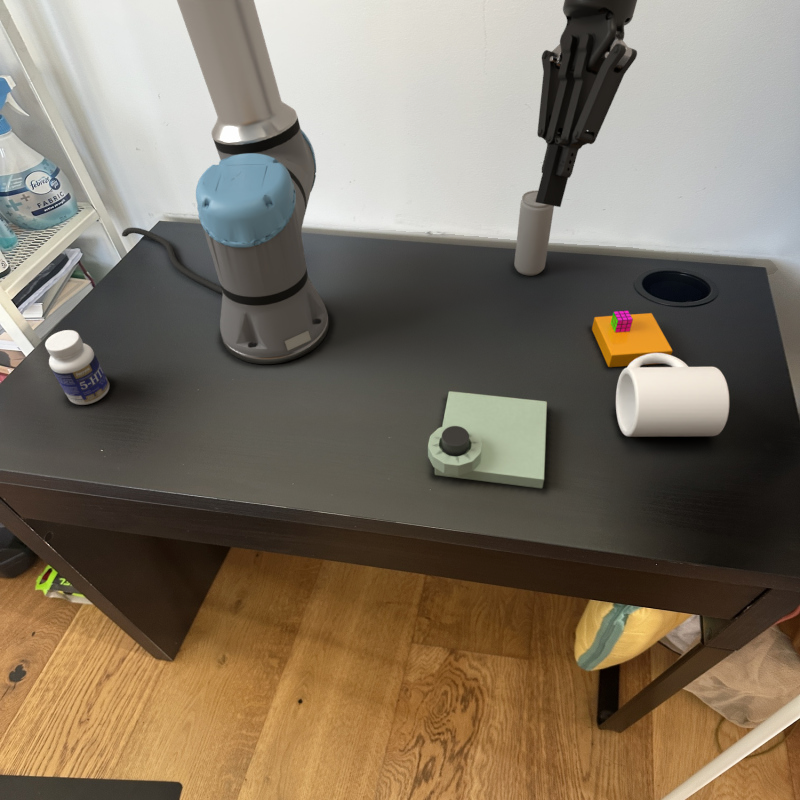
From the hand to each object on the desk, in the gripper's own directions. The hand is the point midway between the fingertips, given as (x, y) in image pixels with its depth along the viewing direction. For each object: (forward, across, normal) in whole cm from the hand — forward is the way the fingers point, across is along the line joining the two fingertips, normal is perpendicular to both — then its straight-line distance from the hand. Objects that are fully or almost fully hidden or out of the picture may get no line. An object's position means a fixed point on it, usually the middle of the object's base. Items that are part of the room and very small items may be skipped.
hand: (547, 204), depth 75 cm
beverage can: (+10, +17, -14) cm, 24 cm away
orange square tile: (+16, -4, -17) cm, 23 cm away
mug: (+21, -15, -12) cm, 29 cm away
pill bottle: (+34, +24, +48) cm, 63 cm away
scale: (+27, -9, +6) cm, 29 cm away
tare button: (+27, -10, +13) cm, 31 cm away
